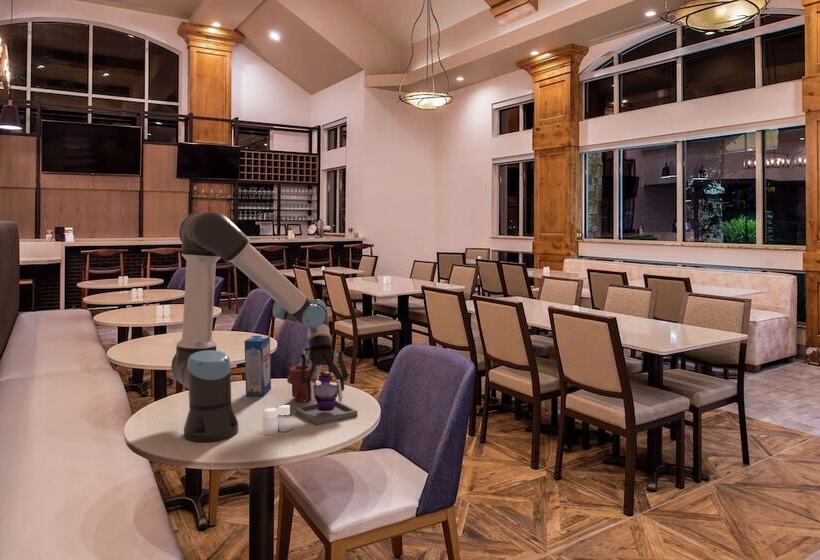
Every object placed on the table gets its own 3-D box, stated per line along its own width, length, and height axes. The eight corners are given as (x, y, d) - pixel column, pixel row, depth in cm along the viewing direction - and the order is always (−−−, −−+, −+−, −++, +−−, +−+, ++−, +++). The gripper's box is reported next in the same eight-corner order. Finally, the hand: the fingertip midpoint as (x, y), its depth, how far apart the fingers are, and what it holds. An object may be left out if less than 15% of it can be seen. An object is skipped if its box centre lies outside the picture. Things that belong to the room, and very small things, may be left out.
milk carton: (254, 388, 219) (253, 335, 217) (271, 389, 219) (269, 335, 217) (246, 396, 209) (244, 341, 207) (263, 396, 209) (261, 341, 207)
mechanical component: (319, 395, 210) (314, 404, 200) (291, 395, 211) (284, 404, 201) (318, 361, 209) (313, 368, 199) (290, 361, 209) (284, 368, 199)
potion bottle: (307, 407, 190) (306, 371, 189) (330, 402, 196) (330, 367, 194) (321, 414, 183) (320, 377, 182) (344, 409, 189) (344, 372, 188)
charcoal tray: (316, 425, 180) (316, 419, 179) (295, 412, 191) (295, 407, 191) (357, 416, 188) (357, 410, 188) (334, 404, 200) (334, 399, 200)
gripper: (348, 344, 205) (358, 403, 192) (287, 348, 200) (292, 409, 186) (351, 332, 200) (361, 392, 186) (288, 335, 194) (294, 397, 180)
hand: (327, 400), depth 186 cm, fingers closed on potion bottle, 8 cm apart
